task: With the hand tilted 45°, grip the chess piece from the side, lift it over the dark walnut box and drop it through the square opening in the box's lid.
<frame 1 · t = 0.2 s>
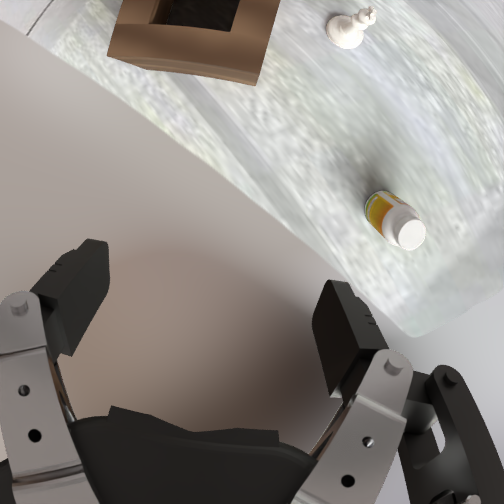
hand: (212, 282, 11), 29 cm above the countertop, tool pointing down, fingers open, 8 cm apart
walnut box: (212, 26, 29), on the countertop
chess piece: (344, 32, 29), on the countertop
supplement bottle: (380, 207, 40), on the countertop
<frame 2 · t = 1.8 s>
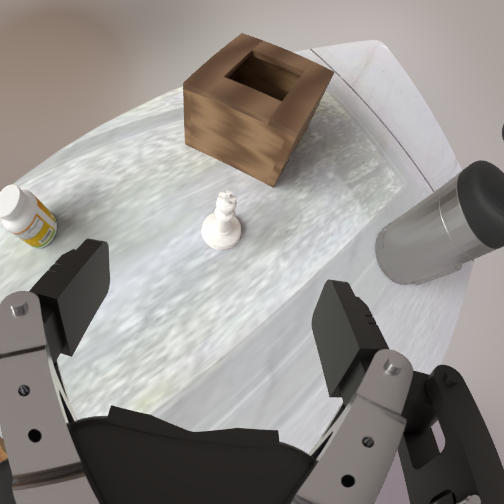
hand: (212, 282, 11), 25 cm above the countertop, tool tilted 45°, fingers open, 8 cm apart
walnut box: (250, 132, 42), on the countertop
chess piece: (221, 231, 37), on the countertop
supplement bottle: (42, 230, 34), on the countertop
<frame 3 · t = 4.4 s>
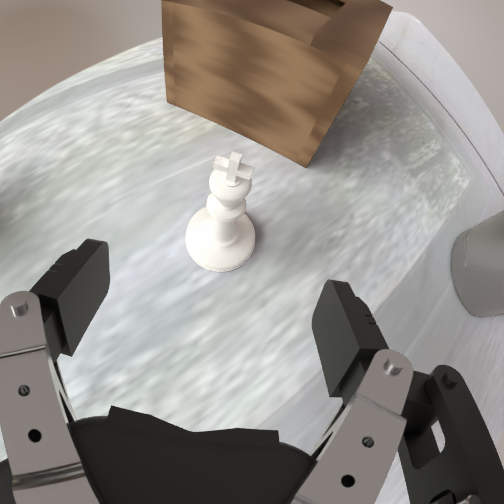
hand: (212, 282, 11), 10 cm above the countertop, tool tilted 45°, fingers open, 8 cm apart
walnut box: (267, 88, 27), on the countertop
chess piece: (220, 239, 22), on the countertop
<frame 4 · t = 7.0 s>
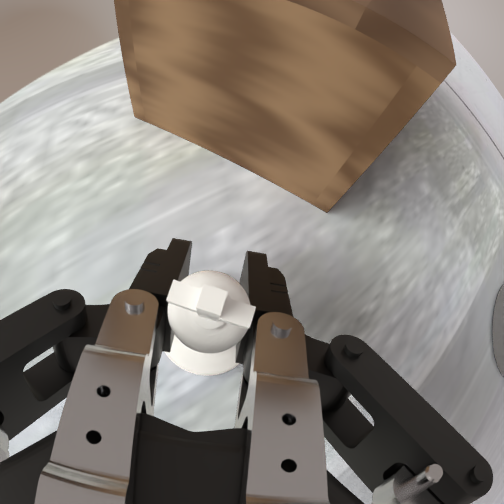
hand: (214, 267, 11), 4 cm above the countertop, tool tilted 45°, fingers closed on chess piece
walnut box: (272, 94, 20), on the countertop
chess piece: (206, 327, 15), on the countertop, touching gripper
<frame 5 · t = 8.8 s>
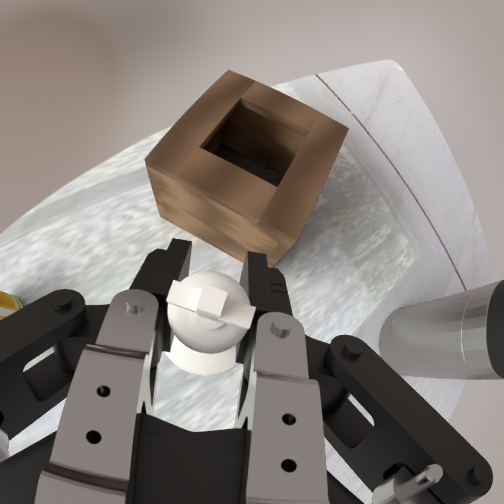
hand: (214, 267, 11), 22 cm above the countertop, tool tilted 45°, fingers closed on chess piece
walnut box: (239, 197, 36), on the countertop
chess piece: (206, 327, 15), point 17 cm above the countertop, touching gripper
supplement bottle: (11, 316, 27), on the countertop
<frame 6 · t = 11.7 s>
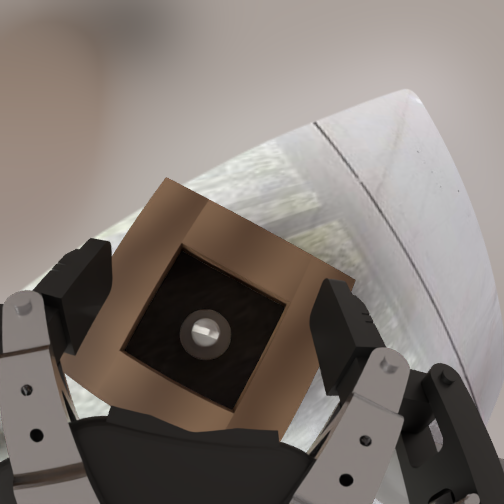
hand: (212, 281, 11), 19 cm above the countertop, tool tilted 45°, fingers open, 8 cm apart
walnut box: (204, 333, 28), on the countertop
chess piece: (205, 334, 28), resting in walnut box
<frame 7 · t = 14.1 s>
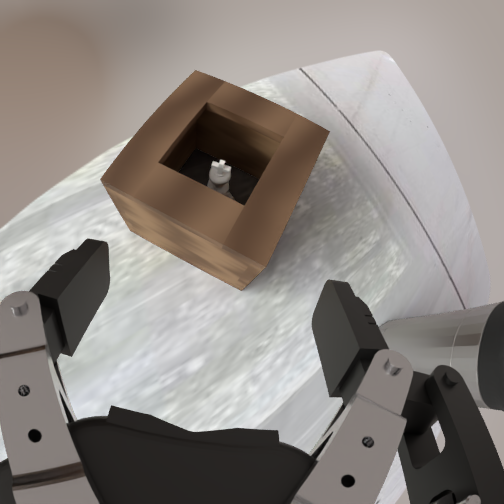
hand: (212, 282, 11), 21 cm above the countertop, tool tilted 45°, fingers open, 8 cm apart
walnut box: (214, 207, 34), on the countertop
chess piece: (214, 209, 34), resting in walnut box
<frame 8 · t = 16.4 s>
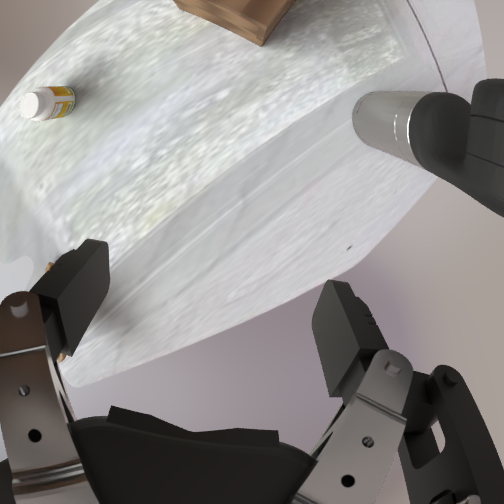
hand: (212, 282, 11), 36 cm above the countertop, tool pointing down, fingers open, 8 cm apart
supplement bottle: (63, 101, 37), on the countertop
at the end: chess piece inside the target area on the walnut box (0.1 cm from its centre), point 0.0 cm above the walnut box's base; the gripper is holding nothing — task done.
